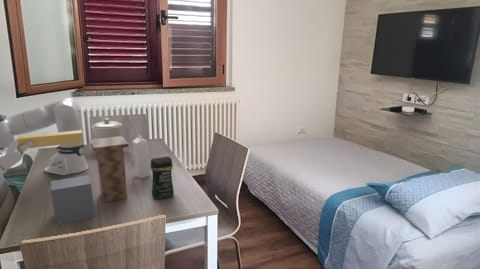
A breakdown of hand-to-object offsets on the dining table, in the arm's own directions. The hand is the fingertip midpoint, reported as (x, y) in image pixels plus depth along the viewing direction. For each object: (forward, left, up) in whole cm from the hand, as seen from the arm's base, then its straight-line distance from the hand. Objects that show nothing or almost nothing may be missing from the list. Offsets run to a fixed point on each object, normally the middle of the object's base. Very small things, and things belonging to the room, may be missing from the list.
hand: (32, 140), depth 132 cm
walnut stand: (+17, +23, -32) cm, 43 cm away
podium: (+11, +3, -32) cm, 34 cm away
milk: (+18, +49, -32) cm, 62 cm away
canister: (-25, +86, -32) cm, 95 cm away
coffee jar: (+39, +28, -32) cm, 58 cm away
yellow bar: (+5, +4, -2) cm, 7 cm away
